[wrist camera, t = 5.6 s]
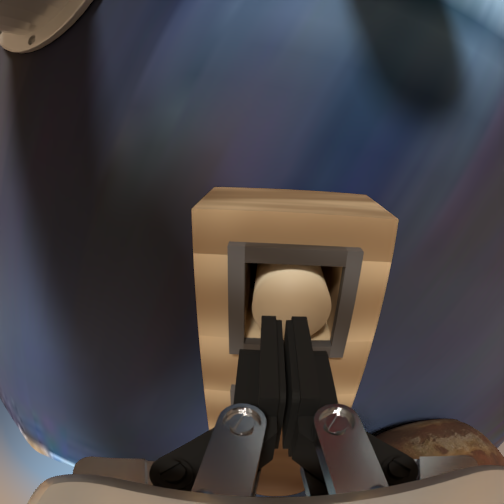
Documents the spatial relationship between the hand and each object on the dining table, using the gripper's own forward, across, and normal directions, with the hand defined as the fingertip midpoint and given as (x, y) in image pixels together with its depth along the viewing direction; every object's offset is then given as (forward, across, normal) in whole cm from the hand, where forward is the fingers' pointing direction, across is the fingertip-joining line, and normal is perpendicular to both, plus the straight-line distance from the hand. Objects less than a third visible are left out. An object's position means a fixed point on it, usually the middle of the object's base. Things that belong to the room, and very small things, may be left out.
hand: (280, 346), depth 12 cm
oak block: (+10, -1, +6) cm, 12 cm away
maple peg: (+11, -1, +1) cm, 11 cm away
